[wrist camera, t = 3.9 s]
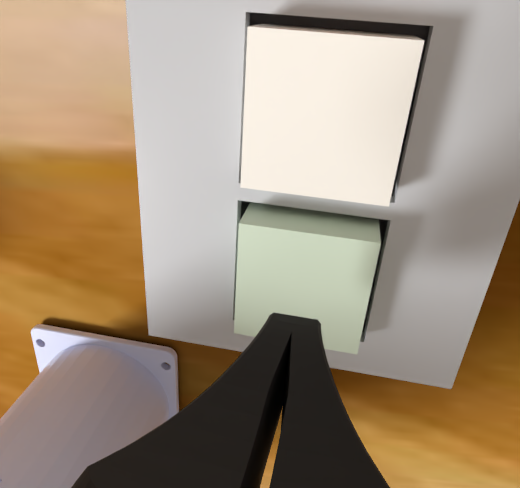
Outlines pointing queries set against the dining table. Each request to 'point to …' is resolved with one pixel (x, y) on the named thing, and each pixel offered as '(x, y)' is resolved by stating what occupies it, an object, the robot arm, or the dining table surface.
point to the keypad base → (390, 218)
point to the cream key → (326, 110)
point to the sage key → (306, 270)
